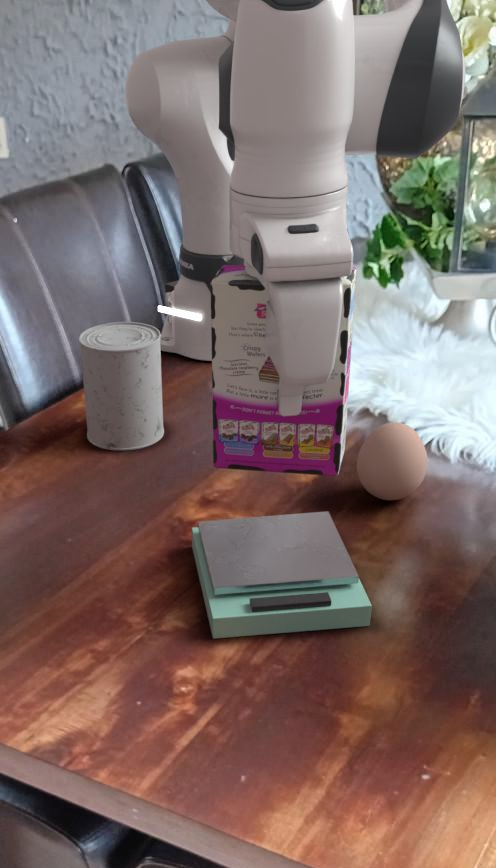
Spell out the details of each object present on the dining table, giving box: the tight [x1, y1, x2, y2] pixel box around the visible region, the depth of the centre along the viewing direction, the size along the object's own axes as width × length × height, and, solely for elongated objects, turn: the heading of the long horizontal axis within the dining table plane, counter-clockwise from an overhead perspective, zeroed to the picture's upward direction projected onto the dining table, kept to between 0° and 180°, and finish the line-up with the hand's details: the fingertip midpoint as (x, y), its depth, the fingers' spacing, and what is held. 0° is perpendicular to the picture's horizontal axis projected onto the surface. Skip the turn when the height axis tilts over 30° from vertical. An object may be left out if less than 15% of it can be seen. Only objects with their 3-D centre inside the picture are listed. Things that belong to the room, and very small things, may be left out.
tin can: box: [78, 321, 165, 452], centre depth 120 cm, size 10×10×12 cm
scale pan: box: [197, 510, 360, 595], centre depth 94 cm, size 12×13×1 cm
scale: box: [191, 526, 373, 640], centre depth 94 cm, size 16×14×3 cm
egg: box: [356, 421, 428, 501], centre depth 105 cm, size 7×7×8 cm
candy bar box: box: [210, 265, 357, 477], centre depth 84 cm, size 11×5×16 cm, turn 75°
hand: (280, 395), depth 85 cm, fingers closed on candy bar box, 6 cm apart
